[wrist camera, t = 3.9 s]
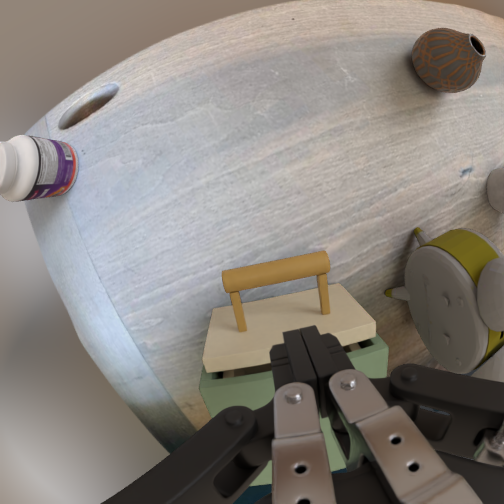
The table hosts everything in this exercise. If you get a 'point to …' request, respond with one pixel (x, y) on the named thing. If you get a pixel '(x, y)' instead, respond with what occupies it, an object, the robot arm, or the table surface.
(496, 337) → the alarm clock
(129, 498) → the robot arm
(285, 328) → the drawer
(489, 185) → the house plant
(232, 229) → the table surface
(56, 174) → the pill bottle
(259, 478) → the cabinet
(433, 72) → the vase
